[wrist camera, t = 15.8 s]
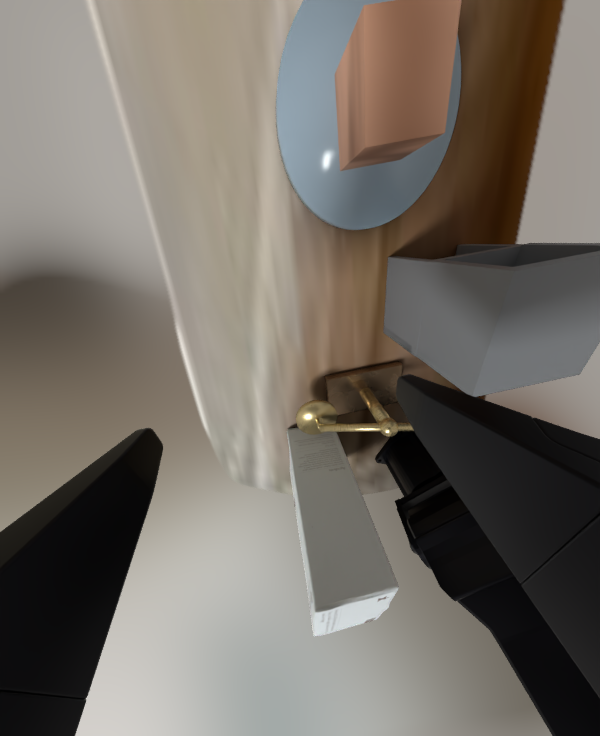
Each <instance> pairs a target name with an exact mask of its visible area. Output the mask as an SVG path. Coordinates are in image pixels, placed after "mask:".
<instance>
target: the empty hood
mask: <svg viewBox="0 0 600 736" xmlns="http://www.w3.org/2000/svg"><path fill="white" fill-rule="evenodd" d="M520 248H521V244H462V245H457V250H456V255H455V256H452V257H446V258H440V259H435V260H448V261H458V262H468V263H478V264H488V265H499V266H509V267H514V266H515V263H516V260H517V257H518V254H519V251H520ZM435 260H429V259H420V258H410V257H400V256H392V257H388V268H387V285H386V301H385V318H384V333H385V334H386V335H387V336H389V337H390V338H391V339H393V340H394V341H395V342H397V343H398V344H399V345H401V346H402V347H403V348H405V349H406V350H407V351H409V352H410V353H411V354H413V355H414V356H415V357H416V353H417V346H418V339H419V333H420V326H421V319H422V312H423V305H424V299H425V292H426V285H427V278H428V271H429V265H430V261H435Z"/></svg>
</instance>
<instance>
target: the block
mask: <svg viewBox="0 0 600 736" xmlns="http://www.w3.org/2000/svg"><path fill="white" fill-rule="evenodd" d="M460 8H461V0H394V1H387V2H381V3H375V4H369V5H364V6H363V8H362V11H361V13H360V15H359V18H358V20H357V23H356V25H355V27H354V30H353V32H352V34H351V37H350V39H349V41H348V44H347V46H346V49H345V51H344V53H343V56H342V58H341V60H340V63H339V65H338V68H337V70H336V72H335V91H336V109H337V127H338V144H339V162H340V171H344V170H349V169H354V168H360V167H365V166H370V165H376V164H381V163H386V162H392V161H397V160H401V159H403V158H404V157H406V156H408V155H409V154H411V153H413V152H414V151H416V150H417V149H419V148H421V147H422V146H424V145H426V144H427V143H429V142H431V141H432V140H434V139H436V138H437V137H439V136H441V135H442V134H444V133H445V129H446V121H447V112H448V104H449V96H450V88H451V80H452V72H453V64H454V56H455V48H456V40H457V32H458V24H459V16H460Z"/></svg>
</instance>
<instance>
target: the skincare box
mask: <svg viewBox="0 0 600 736" xmlns="http://www.w3.org/2000/svg"><path fill="white" fill-rule="evenodd" d="M287 437H288V443H289V452H290V475H291V483H292V490H293V496H294V503H295V510H296V517H297V524H298V531H299V538H300V544H301V551H302V558H303V564H304V570H305V577H306V584H307V591H308V599H309V605H310V613H311V621H312V629H313V635H314V636H320V635H324V634H328V633H332V632H335V631H338V630H342V629H345V628H349V627H352V626H356V625H359V624H362V623H366V622H369V621H372V620H376V619H377V618H378V617H379V616H380V615H381V613H382V612H383V611H385V610H386V609H388V607H389V606H390V604H389V603H390V601H391V600H392V598H393V597H394V595H395V593H396V592H397V590H398V587H399V586H398V583H397V581H396V578H395V576H394V573H393V571H392V568H391V566H390V563H389V561H388V558H387V556H386V553H385V551H384V548H383V546H382V543H381V541H380V538H379V536H378V534H377V531H376V528H375V526H374V523H373V521H372V519H371V516H370V514H369V511H368V509H367V506H366V504H365V501H364V499H363V496H362V494H361V491H360V489H359V486H358V484H357V481H356V479H355V476H354V474H353V471H352V469H351V466H350V464H349V461H348V459H347V457H346V454H345V452H344V449H343V447H342V444H341V442H340V439H339V437H338V434H337V432H324V433H321V434H315V435H311V434H306V433H304V432H302V431H301V430H300V429H299V428H291V429H288V430H287Z"/></svg>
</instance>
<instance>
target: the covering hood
mask: <svg viewBox="0 0 600 736" xmlns="http://www.w3.org/2000/svg"><path fill="white" fill-rule="evenodd" d="M599 342H600V243H529V244H524V245H521V248H520V251H519V254H518V257H517V260H516V263H515V266H514V267H509V266H499V265H488V264H478V263H468V262H458V261H448V260H435V261H430V265H429V271H428V278H427V285H426V292H425V299H424V305H423V312H422V319H421V326H420V333H419V339H418V346H417V353H416V357H418V358H419V359H421V360H422V361H423V362H425V363H426V364H427V365H429V366H430V367H431V368H433V369H434V370H435V371H437V372H438V373H439V374H441V375H442V376H443V377H445V378H446V379H447V380H449V381H450V382H451V383H453V384H454V385H455V386H457V387H458V388H459V389H461V390H462V391H463V392H465V393H466V394H468V395H471V396H474V397H478V396H482V395H487V394H491V393H496V392H500V391H505V390H510V389H515V388H518V387H524V386H528V385H533V384H537V383H542V382H547V381H551V380H556V379H561V378H565V377H570V376H575V375H579V374H580V373H581V371H582V370H583V368H584V367H585V365H586V363H587V362H588V360H589V358H590V357H591V355H592V354H593V352H594V350H595V349H596V347H597V345H598V344H599Z"/></svg>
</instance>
